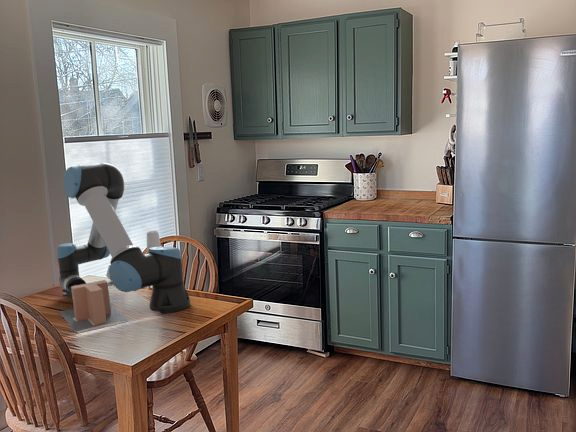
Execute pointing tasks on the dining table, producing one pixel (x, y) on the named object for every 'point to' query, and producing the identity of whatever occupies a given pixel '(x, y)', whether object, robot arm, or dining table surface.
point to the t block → (91, 301)
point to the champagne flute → (153, 240)
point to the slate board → (87, 323)
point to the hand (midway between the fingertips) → (89, 298)
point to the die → (108, 273)
